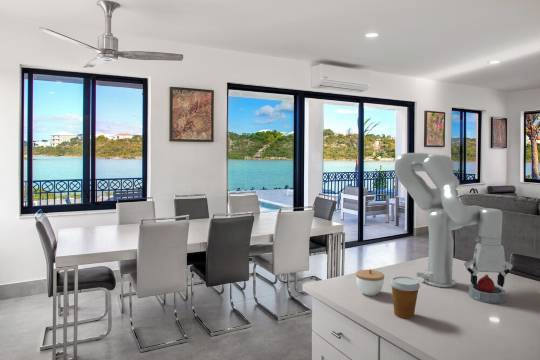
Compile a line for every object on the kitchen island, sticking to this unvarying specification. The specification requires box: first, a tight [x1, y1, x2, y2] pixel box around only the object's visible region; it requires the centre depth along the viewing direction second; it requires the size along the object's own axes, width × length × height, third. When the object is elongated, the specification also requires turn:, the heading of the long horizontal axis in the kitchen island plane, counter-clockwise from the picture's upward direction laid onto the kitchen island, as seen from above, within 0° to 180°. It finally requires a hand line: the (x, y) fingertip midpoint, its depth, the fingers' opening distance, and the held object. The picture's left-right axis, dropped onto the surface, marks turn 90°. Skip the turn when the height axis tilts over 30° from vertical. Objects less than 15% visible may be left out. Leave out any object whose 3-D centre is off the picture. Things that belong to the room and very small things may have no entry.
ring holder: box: [468, 282, 507, 305], centre depth 151 cm, size 12×12×4 cm
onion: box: [477, 273, 496, 293], centre depth 151 cm, size 6×6×8 cm
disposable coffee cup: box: [389, 275, 421, 319], centre depth 134 cm, size 10×10×12 cm
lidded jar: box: [355, 268, 385, 297], centre depth 155 cm, size 11×11×9 cm
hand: (487, 285), depth 151 cm, fingers open, 9 cm apart
